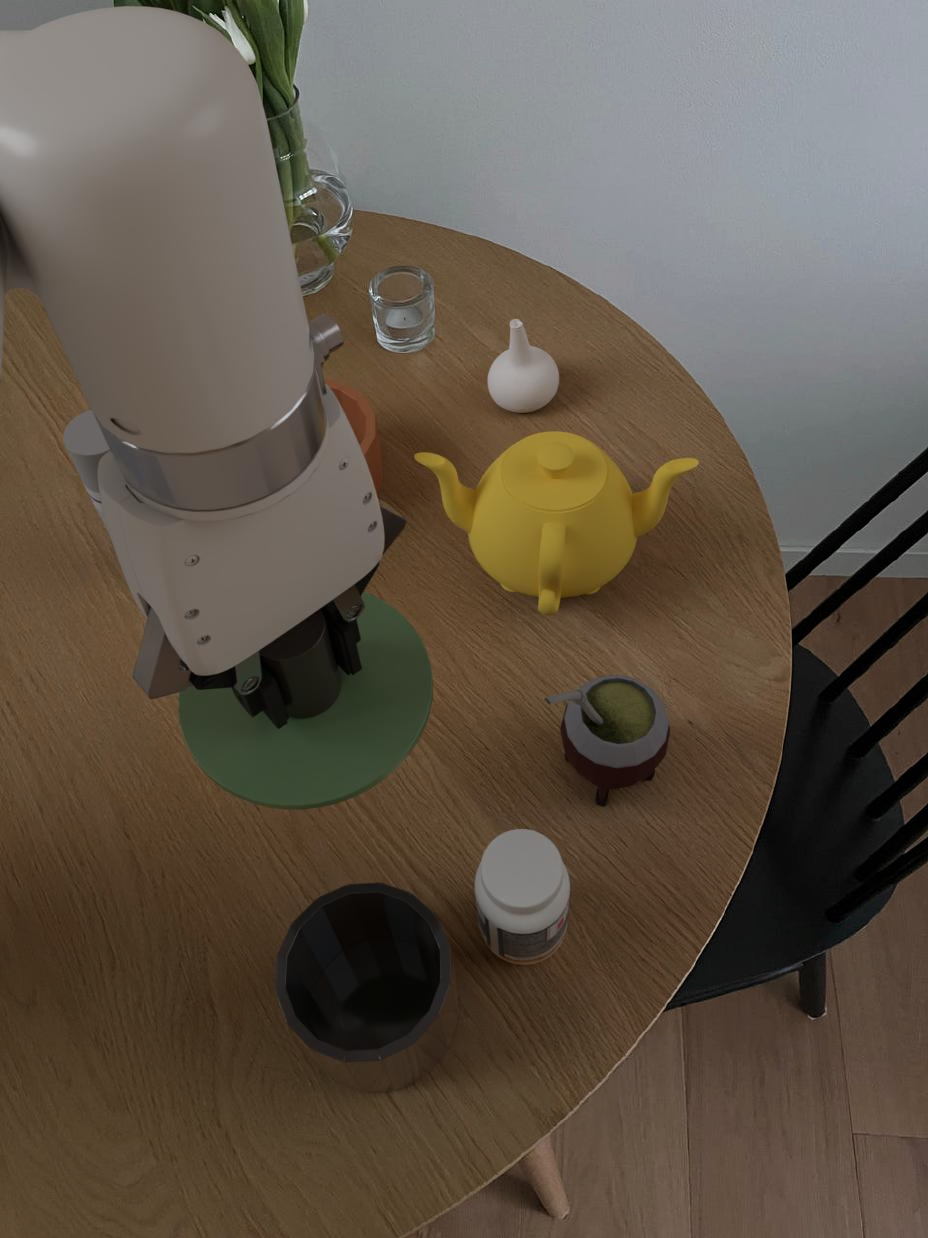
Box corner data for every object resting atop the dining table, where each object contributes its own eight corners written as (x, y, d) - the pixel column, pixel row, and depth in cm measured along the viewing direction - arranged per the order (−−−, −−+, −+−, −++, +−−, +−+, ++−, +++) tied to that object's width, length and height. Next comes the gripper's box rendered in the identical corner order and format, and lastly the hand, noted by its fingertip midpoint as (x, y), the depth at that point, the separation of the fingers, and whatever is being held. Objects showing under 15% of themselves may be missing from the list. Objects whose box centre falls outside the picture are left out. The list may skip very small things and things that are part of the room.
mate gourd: (667, 733, 75) (697, 615, 62) (648, 835, 71) (675, 730, 58) (564, 710, 76) (573, 590, 64) (539, 809, 72) (543, 701, 60)
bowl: (222, 513, 88) (204, 464, 83) (283, 416, 94) (269, 365, 89) (350, 548, 85) (339, 500, 80) (404, 446, 91) (397, 395, 86)
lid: (138, 771, 52) (93, 704, 46) (251, 572, 58) (223, 491, 52) (378, 849, 49) (361, 788, 43) (468, 631, 55) (463, 553, 50)
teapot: (416, 636, 80) (402, 544, 71) (432, 487, 88) (422, 385, 79) (683, 645, 79) (706, 552, 69) (675, 492, 87) (694, 390, 77)
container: (167, 529, 87) (108, 396, 75) (197, 563, 85) (142, 432, 73) (117, 559, 86) (49, 429, 73) (146, 595, 84) (81, 467, 71)
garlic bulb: (567, 411, 93) (571, 340, 86) (497, 425, 92) (496, 355, 85) (547, 362, 96) (549, 291, 89) (480, 375, 96) (477, 304, 89)
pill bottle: (582, 906, 68) (591, 848, 60) (540, 985, 66) (543, 936, 57) (505, 864, 70) (503, 802, 62) (461, 939, 67) (453, 885, 59)
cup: (277, 1058, 64) (245, 1023, 56) (341, 911, 69) (319, 860, 61) (424, 1118, 62) (412, 1089, 54) (480, 961, 67) (475, 915, 59)
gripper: (341, 254, 41) (388, 544, 56) (-54, 473, 35) (116, 730, 51) (468, 352, 38) (481, 632, 53) (53, 611, 32) (201, 841, 47)
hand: (302, 678), depth 52 cm, fingers closed on lid, 3 cm apart
